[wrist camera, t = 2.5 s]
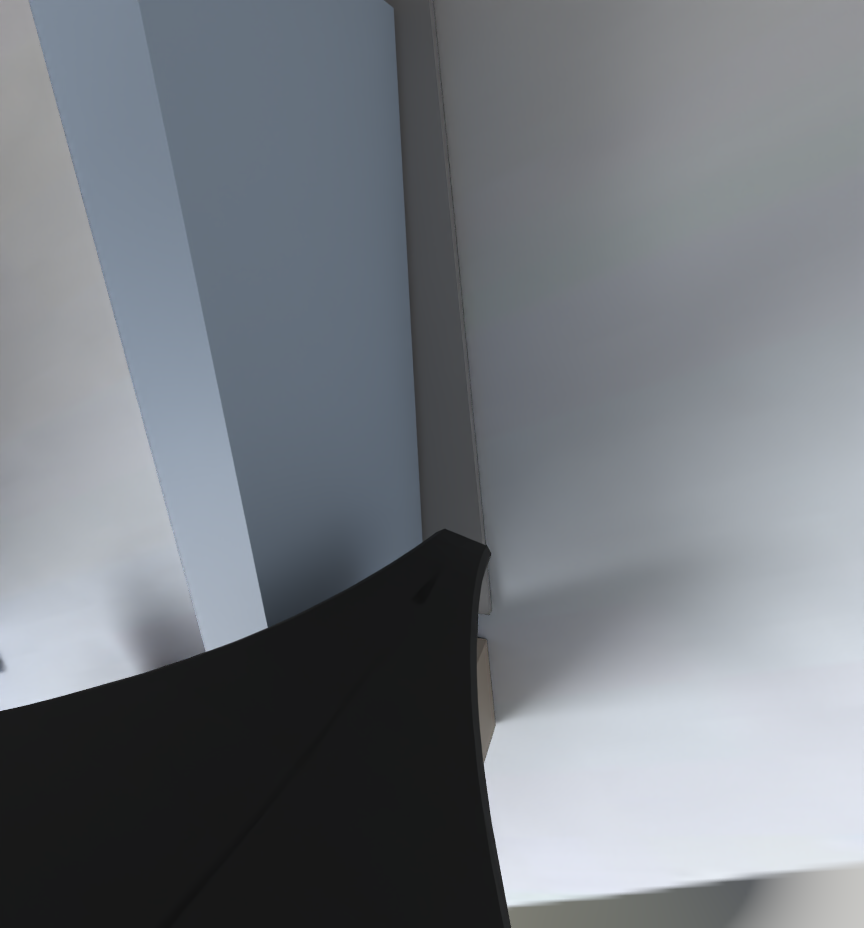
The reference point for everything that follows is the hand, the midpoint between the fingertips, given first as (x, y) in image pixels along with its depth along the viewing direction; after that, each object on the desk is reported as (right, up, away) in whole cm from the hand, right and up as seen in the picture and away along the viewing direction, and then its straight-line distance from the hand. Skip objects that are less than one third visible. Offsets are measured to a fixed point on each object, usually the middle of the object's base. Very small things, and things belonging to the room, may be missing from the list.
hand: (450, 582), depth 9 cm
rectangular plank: (-2, +4, +2) cm, 5 cm away
